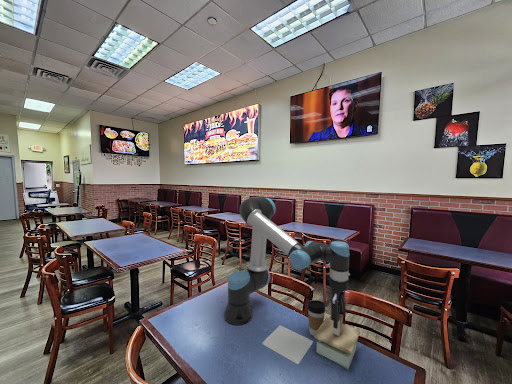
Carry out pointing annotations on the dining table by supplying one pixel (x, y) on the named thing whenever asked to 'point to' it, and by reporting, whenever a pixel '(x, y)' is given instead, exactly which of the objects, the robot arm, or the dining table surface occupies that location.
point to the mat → (288, 344)
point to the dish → (335, 354)
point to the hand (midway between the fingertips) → (337, 331)
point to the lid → (343, 341)
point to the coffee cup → (315, 315)
